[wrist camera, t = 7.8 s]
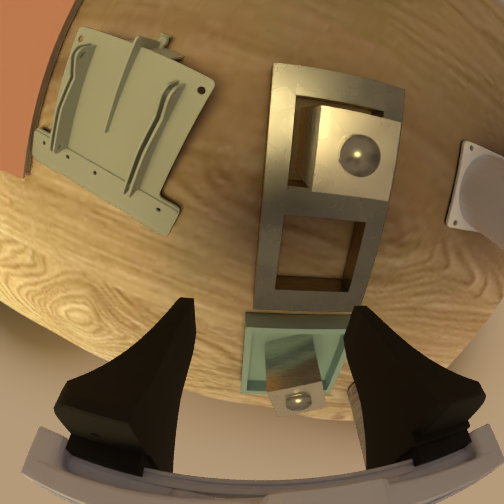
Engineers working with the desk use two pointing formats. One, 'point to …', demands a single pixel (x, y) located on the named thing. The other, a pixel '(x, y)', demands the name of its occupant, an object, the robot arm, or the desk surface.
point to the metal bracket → (123, 121)
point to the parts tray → (284, 325)
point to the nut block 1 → (293, 375)
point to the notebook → (27, 71)
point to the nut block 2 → (347, 152)
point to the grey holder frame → (316, 193)
